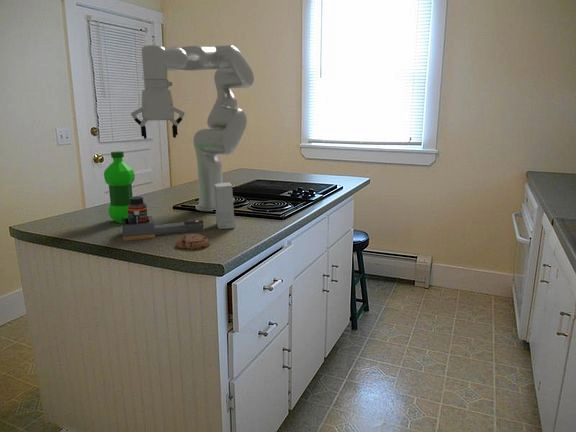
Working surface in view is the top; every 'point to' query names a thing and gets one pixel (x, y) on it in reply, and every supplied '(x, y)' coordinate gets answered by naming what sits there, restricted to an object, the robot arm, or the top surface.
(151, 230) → the grey long handled piece
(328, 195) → the top surface
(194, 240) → the cookie
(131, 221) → the supplement bottle
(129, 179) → the plastic bottle
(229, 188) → the skincare box
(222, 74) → the robot arm
